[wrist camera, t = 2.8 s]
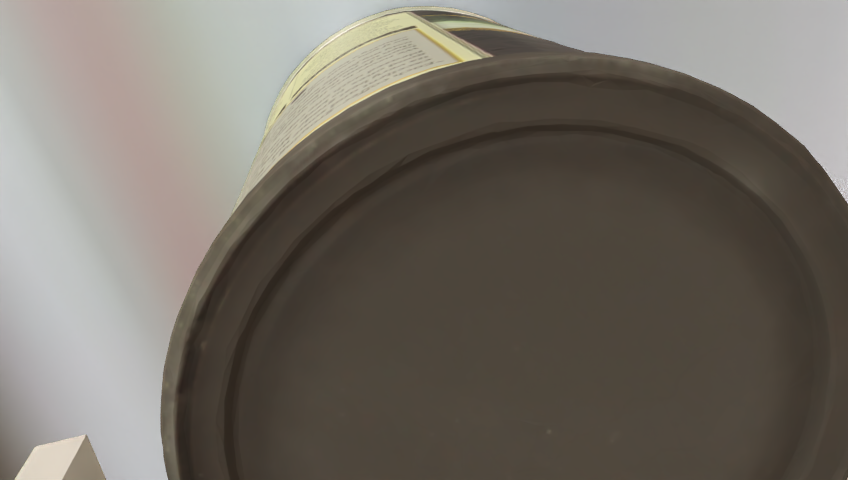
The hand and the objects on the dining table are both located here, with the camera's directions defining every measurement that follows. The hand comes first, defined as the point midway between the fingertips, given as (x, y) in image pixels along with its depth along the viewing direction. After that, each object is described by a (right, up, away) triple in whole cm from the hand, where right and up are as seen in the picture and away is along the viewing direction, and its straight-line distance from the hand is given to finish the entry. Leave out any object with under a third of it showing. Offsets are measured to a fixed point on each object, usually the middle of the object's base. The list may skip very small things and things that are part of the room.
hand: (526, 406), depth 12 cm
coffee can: (-2, +5, +12) cm, 13 cm away
